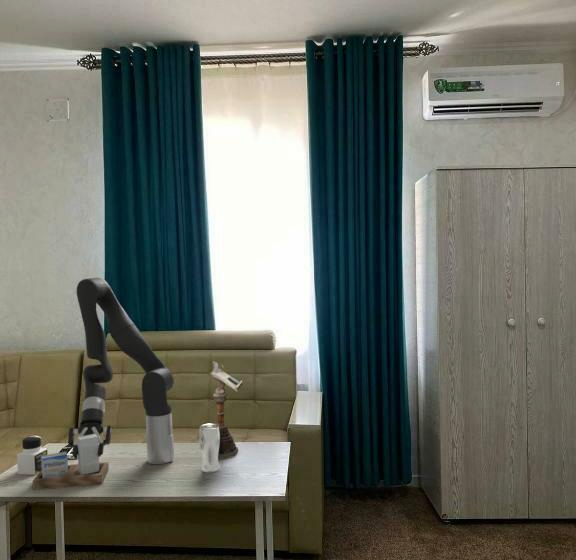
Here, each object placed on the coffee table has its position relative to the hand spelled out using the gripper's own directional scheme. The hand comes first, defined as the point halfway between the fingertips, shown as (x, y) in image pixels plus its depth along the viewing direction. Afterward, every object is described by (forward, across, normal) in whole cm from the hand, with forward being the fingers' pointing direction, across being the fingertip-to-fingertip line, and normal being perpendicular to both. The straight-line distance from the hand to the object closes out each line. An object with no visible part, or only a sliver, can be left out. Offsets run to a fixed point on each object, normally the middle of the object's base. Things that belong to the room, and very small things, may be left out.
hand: (87, 456), depth 184 cm
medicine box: (+5, -11, +6) cm, 13 cm away
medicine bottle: (-4, -21, +15) cm, 26 cm away
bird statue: (-5, +48, +16) cm, 51 cm away
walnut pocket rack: (+5, -5, +6) cm, 10 cm away
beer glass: (+6, +41, +5) cm, 41 cm away
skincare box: (+3, 0, +5) cm, 6 cm away
